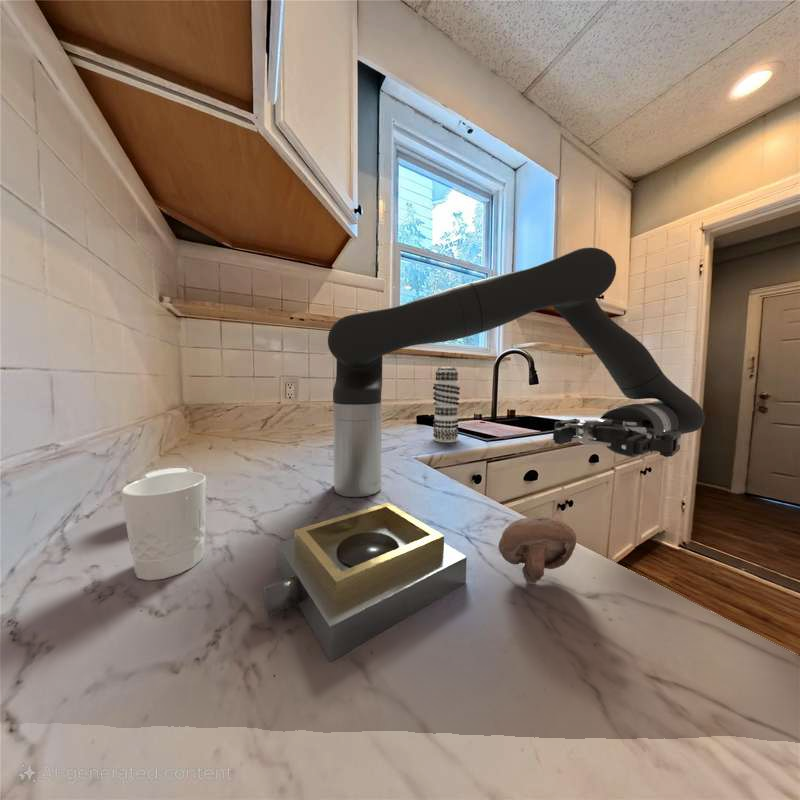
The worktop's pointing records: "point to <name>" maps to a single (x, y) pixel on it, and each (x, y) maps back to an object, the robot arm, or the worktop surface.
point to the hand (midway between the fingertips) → (590, 442)
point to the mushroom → (537, 545)
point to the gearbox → (362, 574)
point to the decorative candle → (446, 405)
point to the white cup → (165, 523)
